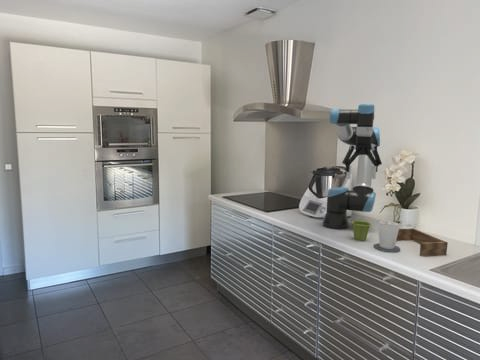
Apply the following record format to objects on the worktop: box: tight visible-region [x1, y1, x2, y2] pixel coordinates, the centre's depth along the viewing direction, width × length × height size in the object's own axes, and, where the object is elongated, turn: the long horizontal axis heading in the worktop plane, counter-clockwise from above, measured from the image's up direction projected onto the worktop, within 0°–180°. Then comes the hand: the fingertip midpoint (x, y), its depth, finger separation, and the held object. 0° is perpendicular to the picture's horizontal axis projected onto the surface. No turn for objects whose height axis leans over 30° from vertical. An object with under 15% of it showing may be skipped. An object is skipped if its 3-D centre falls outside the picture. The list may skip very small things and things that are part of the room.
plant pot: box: [351, 220, 372, 241], centre depth 185 cm, size 9×9×9 cm
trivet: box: [373, 243, 401, 253], centre depth 171 cm, size 12×12×1 cm
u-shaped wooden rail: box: [396, 228, 448, 257], centre depth 174 cm, size 14×24×6 cm, turn 11°
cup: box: [377, 220, 400, 249], centre depth 171 cm, size 9×9×12 cm
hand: (360, 178), depth 176 cm, fingers open, 13 cm apart
